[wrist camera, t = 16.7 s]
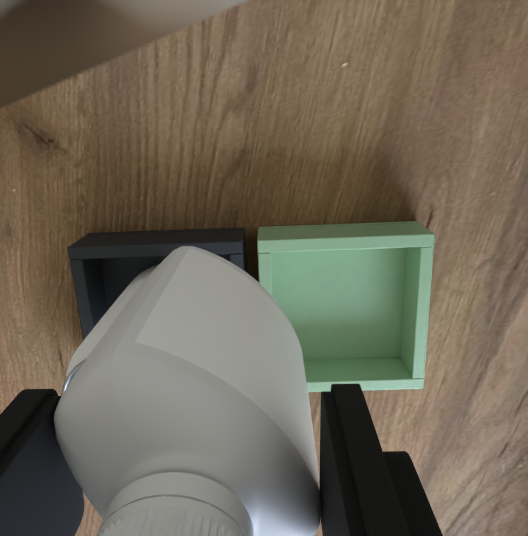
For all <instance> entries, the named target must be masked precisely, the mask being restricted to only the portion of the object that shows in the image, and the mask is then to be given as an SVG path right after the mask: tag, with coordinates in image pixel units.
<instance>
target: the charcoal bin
mask: <svg viewBox="0 0 528 536" xmlns="http://www.w3.org/2000/svg"><path fill="white" fill-rule="evenodd" d="M181 246H194V247H197V248H200V249H203V250H206V251H208V252H211V253H213V254H216V255H218V256H220V257H222V258H224V259H226V260H228V261H229V262H231V263H233V264H234V265H236V266H238V267H239V268H241V269H242V270H244V271H245V272H247V259H246V241H245V228H244V227H243V228H216V229H190V230H163V231H137V232H110V233H88V234H87V235H86V236H84V237H83V238H81V239H80V240H78V241H77V242H75V243H74V244H72V245H71V246H69V247H68V253H69V259H71V260H70V265H71V271H72V276H73V282H74V288H75V293H76V299H77V305H78V311H79V316H80V322H81V328H82V333H83V339H85V338H86V337H87V336H88V334H89V333H90V332H91V331H92V329H93V328H94V327H95V326H96V324H97V323H98V322H99V321H100V319H101V318H102V317H103V316H104V314H105V313H106V312H107V311H108V310H109V308H110V307H111V306H112V305H113V303H114V302H115V301H116V300H117V299H118V297H119V296H120V295H121V294H122V293H123V291H124V290H125V289H126V288H127V286H128V285H129V284H130V283H131V282H132V281H133V280H134V278H135V277H136V276H138V275H139V274H140V273H141V272H143V271H144V270H146V269H148V268H150V267H153V266H156V265H159V264H160V263H161V262H162V261H163V260H164V259H165V258H166V257H167V256H168V255H169V254H170V253H171V252H172V251H173V250H175V249H177V248H179V247H181Z"/></svg>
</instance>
